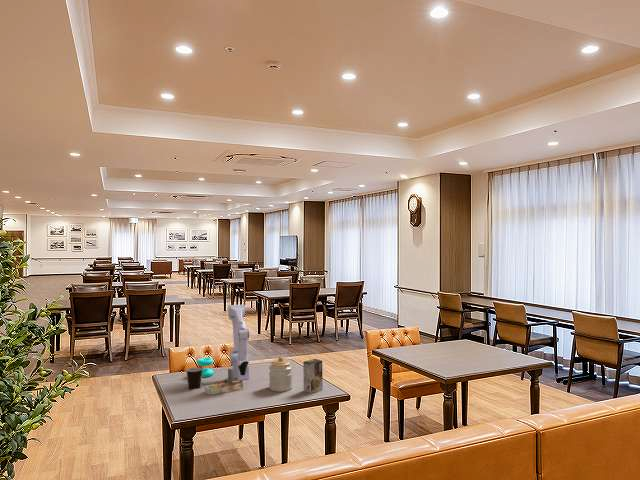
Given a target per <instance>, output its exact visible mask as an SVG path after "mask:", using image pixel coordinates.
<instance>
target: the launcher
mask: <svg viewBox="0 0 640 480" xmlns="http://www.w3.org/2000/svg"><path fill="white" fill-rule="evenodd" d="M243 381H244V380H238V378H234V381H232V382H231V383H225V379H221V380H217V381H216V383H215V384H217V385H218V386H219V387H221V393H220V394H225V393H230V392H235V391H240V390H241V391H242V390H243V389H244V383H243Z"/></svg>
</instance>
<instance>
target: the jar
mask: <svg viewBox="0 0 640 480" xmlns="http://www.w3.org/2000/svg"><path fill="white" fill-rule="evenodd" d="M291 363H292V362H291V361H289V359H285V358H284V357H283V356H279V357H278V358H277V359H274V360H272V361H271V362H270V366H269V367H268V368H269V372H268V375H269V377H268V378H269V381H268V382H269V383H268V387H269V390H270V391H273V392H278V393H279V392H281V393H282V392H288V391H290V390H292V388H293V371H292V368H293V366H292V364H291Z"/></svg>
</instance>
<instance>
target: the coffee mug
mask: <svg viewBox="0 0 640 480" xmlns="http://www.w3.org/2000/svg"><path fill="white" fill-rule="evenodd" d="M202 369H203V368H202V367H189V368H188V369H186V375H187V376H186V378H187V383H188V384H187V385H188V389H190V390H196V389H200V388H201V384H202V378H203V377H202Z"/></svg>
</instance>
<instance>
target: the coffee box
mask: <svg viewBox="0 0 640 480" xmlns="http://www.w3.org/2000/svg"><path fill="white" fill-rule="evenodd" d="M302 363H303V365H302V366H303V392H307V393H310V394H313V393H315V392H316V393H317V392H319V391H322V390H323V389H324V388H323V387H324V386H323V383H324V382H323V360H320V359H319V358H313V359H308V360H305V361H303V362H302Z"/></svg>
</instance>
